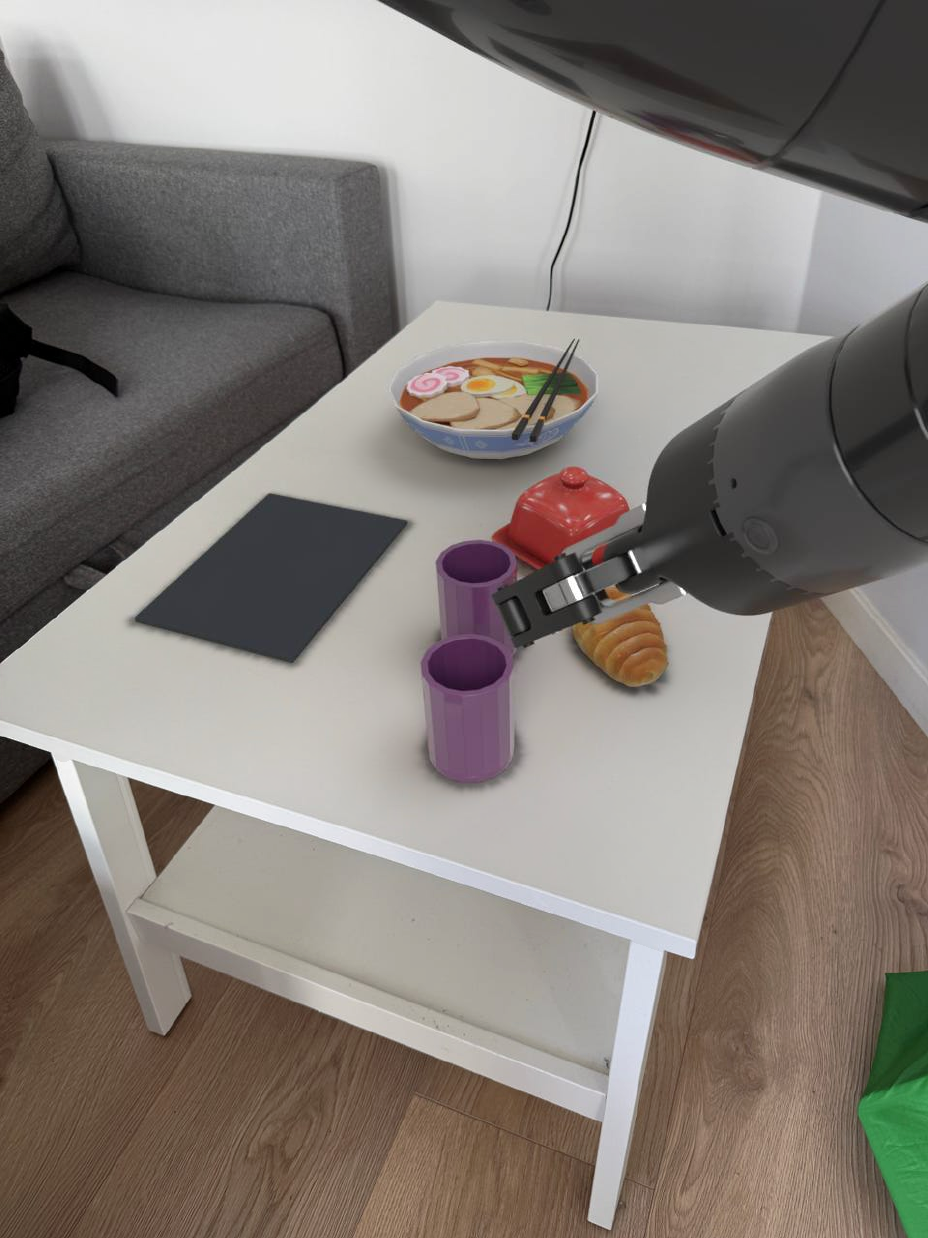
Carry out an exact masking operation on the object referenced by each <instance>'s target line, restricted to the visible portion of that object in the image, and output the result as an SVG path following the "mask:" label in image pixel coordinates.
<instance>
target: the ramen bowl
mask: <svg viewBox="0 0 928 1238" xmlns="http://www.w3.org/2000/svg"><path fill="white" fill-rule="evenodd" d="M575 340H576V338H573V339H572V340H571V342H570V343H569V345H568V347H567V349H566V350H564V349H562V348H560V347H557V346H553V345H547V344H541V343H536V342H530V341H524V340H479V341H471V342H464V343H459V344H458V343H457V344H452V345H451V344H450V345H445V346H444V347H440V348H437V349H434V350H432V351H429V352H426V353H423V354H421V355H417V356H415V357H414V358H413V359H411V360H410V361H408V362H407V363H405V364H404V365H403V366H401V367H400V368H398V369H397V370H395V371H394V373H393V375H392V378H391V380H390V382H389V385H388V387H387V392H388V394H389V396H390V398H391V400H392V402H393V404H394V406H395V408H396V410H397V411H398V413H399V414H400V416H401V418H402V419H403V421H405V422H406V424H407V425H408V426H409V427H410V428H411V430H413V431H414V432H415V433H416V434H417V435H418V436H420V437H421V438H422V439H424V440H426V441H427V442H428V443H430V444H432V445H434V446H435V447H437V448H439V449H440V450H442V451H445V452H448V453H450V454H455V455H459V456H463V457H467V458H470V459H479V460H480V459H482V460H485V459H486V460H504V459H509V458H510V459H511V458H515V457H522V456H527V455H530V454H532V453H534V452H537V451H539V450H541V449H544V448H546V447H548V446H550V445H552V444H555V443H557V442H559V441H560V440H561V439H562V438H563V437H564V436H565V435H566V434H567V433H568V432H569V431H570V430H571V429H572V428H573V427H574V426H575V425H576V424H578V422H579V421H580V420H581V419H582V418H583V417H584V416H585V415H586V413H587V412H588V411H589V409H590V408H591V407H592V405H593V403H594V402H595V400H596V398H597V396H598V395H599V392H600V391H599V387H600V386H599V384H600V382H599V381H600V380H599V379H600V375H599V373H598V372H597V371H596V369H594V368H593V367H592V365H590V363H589V362H587V360H586V359H585V358H583V357H581V356H578V355H576V354H575V352H576V350H577V348H578V345H579V343H580V340H581V339H580V338H579V339H577V341H576V343H575V346H574V347H573V349H572V351H571V352H570V349H571V347H572V345H573V344H574V342H575Z"/></svg>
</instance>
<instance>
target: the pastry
mask: <svg viewBox="0 0 928 1238" xmlns="http://www.w3.org/2000/svg"><path fill="white" fill-rule="evenodd" d="M605 591H606V593H607V595H608V597H609V598H610V599H612V600H614V601H621V600H624V599H626V598H628V597H631V596H633V595H634V594H624V593H622V592H620V591H619V590H618V589H617V588H616V587H615V586H610V587H607V588H605ZM571 627H572V635H573V638H574V641H575V642H576V644H577V645H578V646H579V648H580V650H581V652H582V653H584V654H585V656H587V658H588V659H590V660H591V661H592V663H593V664H594V665H595V666H596V667H597V668H599V669H600V670H601V671H602V672H603V673H605V674H606V675H607V676H608V677H609V678H610V679H613V681H615V682H619V683H620V684H623V685H625V686H626V687H630V688H634V687H635V688H639V687H641V686H645V685H650V684H653V683H654V682H656V681H658V679H660V677H661V676H662V674H663V673H664V672H665V670H666V669H667V668H668V666H669V661H668V655H667V648H668V645H667V644H666V642H665V636H664V632H663V630H662V626H661V622H660V621H659V620H658V618H657V617H656V615H655V614H654V612H653V611H652V608H651V606H650V604H649V603H648V604H646V605H643V606H641V607H639V608H636V609H634V610H632V611H629V612H627V613H625V614H622V615H620V616H617V617H615V618H613V619H610V620H608V621H606V622H603V623H601V624H593V623H591V622H590V623H588V624H585V625H583V624H582V622H580V623H578V624H575V625H573V626H571Z"/></svg>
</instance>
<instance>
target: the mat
mask: <svg viewBox="0 0 928 1238" xmlns="http://www.w3.org/2000/svg"><path fill="white" fill-rule="evenodd" d="M407 525H408V520H406V519H401V518H396V517H391V516H386V515H382V514H376V513H371V512H365V511H361V510H355V509H350V508H347V507H341V506H335V505H331V504H326V503H320V502H315V501H311V500H305V499H300V498H295V497H291V496H286V495H280V494H275V493H270V492H269V493H267V494H266V496H264V497H263V498H262V499H261V500H260V501H259V502H258V503H257V504H256V505H254V506H253V507H252V508H251V509H250V510H249V511H248V512H247V513H246V514H245V515H244V516H243V517H241V519H240V520H239V521H237V522H236V523H235V524H234V525H233V526H232V527H231V528H230V529H228V530H227V532H226V533H224V534H223V535H222V536H221V537H220V538H219V539H218V540H216V542H215V543H213V545H212V546H210V548H208V549H207V550H206V551H205V552H204V553H203V554H201V556H200V557H198V558H197V560H195V561H194V562H193V563H192V564H191V565H189V567H187V568H186V569H185V570H184V571H183V572H182V573H181V574H180V575H178V576H177V578H176V579H174V581H172V582H171V583H170V584H169V585H168V586H167V587H166V588H165V589H163V590H162V592H160V594H159V595H158V596H156V597H155V598H154V599H153V600H152V601H150V603H148V605H147V606H145V607H144V608H143V609H142V610H141V611H140V612H139V613H138V614H137V615H136V616H135V617H134V620H135V622H139V623H142V624H146V625H150V626H154V627H157V628H161V629H164V630H168V631H172V632H176V633H180V634H183V635H187V636H191V637H195V638H198V639H201V640H206V641H209V642H214V643H218V644H221V645H225V646H229V647H233V648H236V649H240V650H243V651H248V652H250V653H254V654H258V655H262V656H266V657H270V658H274V659H277V660H280V661H281V660H282V661H285V662H288V663H294V662H295V661H296V659H297V658H298V657H299V656H300V655H301V653H302V652H303V651H304V650H305V648H306V647H307V646H308V645H309V644H310V642H311V641H312V640H313V638H314V637H315V636H316V635H317V634H318V632H319V631H320V630H321V629H322V628H323V627H324V625H325V624H326V623H327V622H328V621H329V619H330V618H331V617H332V616H333V615H334V613H335V612H336V611H337V609H339V607H340V606H341V605H342V604H343V602H345V600H346V598H348V596H349V595H350V594H351V593H352V592H353V590H354V589H355V588H356V587H357V585H358V584H359V583H361V580H362V579H363V578H364V576H366V575H367V573H368V572H369V571H370V569H371V568H372V567H373V566H374V565H375V564H376V562H377V561H379V559H380V558H381V557H382V555H383V554H384V552H386V550H387V549H388V548H389V546H391V544H392V543H393V542H394V540H396V538H397V537H398V536H399V535H400V533H401V532H402V531H403V530H404V529H405V527H406V526H407Z"/></svg>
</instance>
